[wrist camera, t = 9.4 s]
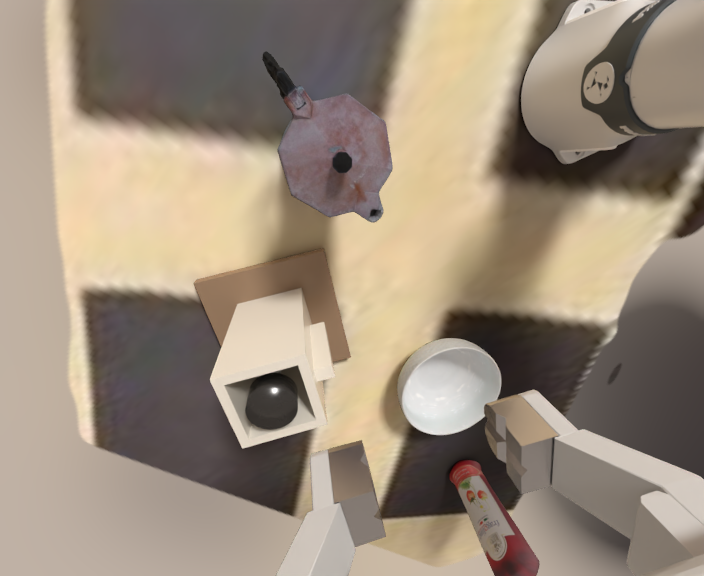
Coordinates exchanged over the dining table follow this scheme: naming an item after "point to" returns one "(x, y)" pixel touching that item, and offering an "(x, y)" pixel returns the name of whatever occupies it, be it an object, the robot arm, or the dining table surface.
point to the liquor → (493, 523)
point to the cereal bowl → (447, 386)
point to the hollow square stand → (274, 337)
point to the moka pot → (332, 151)
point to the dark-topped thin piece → (272, 401)
